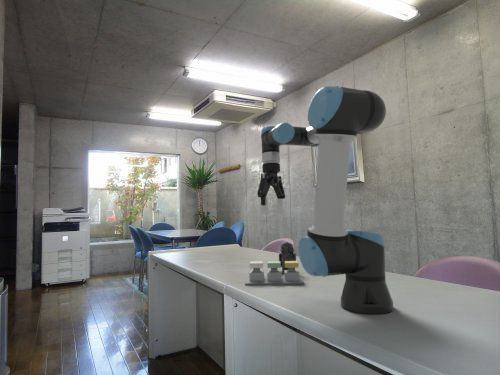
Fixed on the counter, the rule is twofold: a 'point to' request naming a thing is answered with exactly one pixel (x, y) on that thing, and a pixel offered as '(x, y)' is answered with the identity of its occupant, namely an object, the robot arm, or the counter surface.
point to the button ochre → (291, 265)
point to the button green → (274, 265)
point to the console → (274, 278)
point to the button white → (256, 266)
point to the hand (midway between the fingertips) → (272, 213)
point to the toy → (286, 255)
